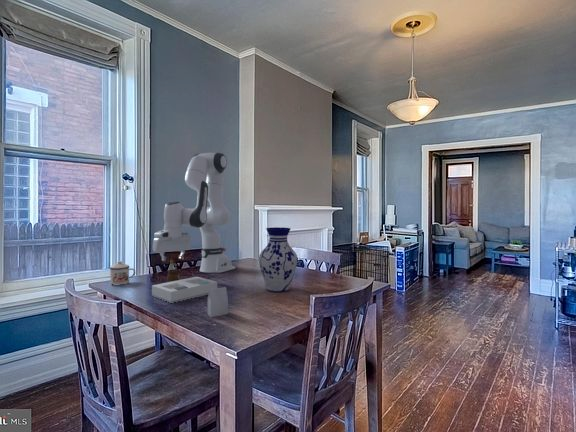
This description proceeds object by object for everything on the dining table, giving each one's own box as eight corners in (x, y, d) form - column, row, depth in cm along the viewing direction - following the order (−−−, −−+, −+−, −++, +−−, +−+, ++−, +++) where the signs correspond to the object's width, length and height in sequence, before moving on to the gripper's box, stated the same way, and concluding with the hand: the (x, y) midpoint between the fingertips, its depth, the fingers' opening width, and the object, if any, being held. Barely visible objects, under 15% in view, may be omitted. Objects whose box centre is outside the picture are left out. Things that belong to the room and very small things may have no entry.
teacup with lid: (111, 286, 169) (111, 263, 169) (108, 282, 177) (108, 260, 176) (137, 283, 176) (136, 261, 175) (133, 279, 183) (133, 258, 183)
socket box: (197, 286, 171) (197, 275, 171) (217, 292, 160) (217, 281, 160) (151, 296, 153) (151, 284, 152) (170, 303, 142) (170, 291, 142)
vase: (293, 295, 155) (294, 230, 154) (253, 293, 159) (253, 229, 157) (300, 285, 174) (300, 227, 172) (264, 283, 177) (264, 226, 176)
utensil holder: (169, 285, 172) (169, 262, 171) (165, 283, 177) (165, 260, 176) (181, 284, 175) (180, 261, 175) (177, 281, 180) (177, 259, 180)
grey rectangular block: (227, 314, 130) (227, 288, 130) (211, 317, 126) (211, 290, 126) (224, 311, 133) (224, 286, 133) (207, 314, 130) (207, 288, 129)
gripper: (186, 231, 185) (186, 257, 185) (151, 233, 169) (150, 261, 169) (193, 232, 181) (193, 258, 181) (157, 234, 165) (157, 262, 165)
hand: (172, 259), depth 175 cm, fingers open, 8 cm apart
